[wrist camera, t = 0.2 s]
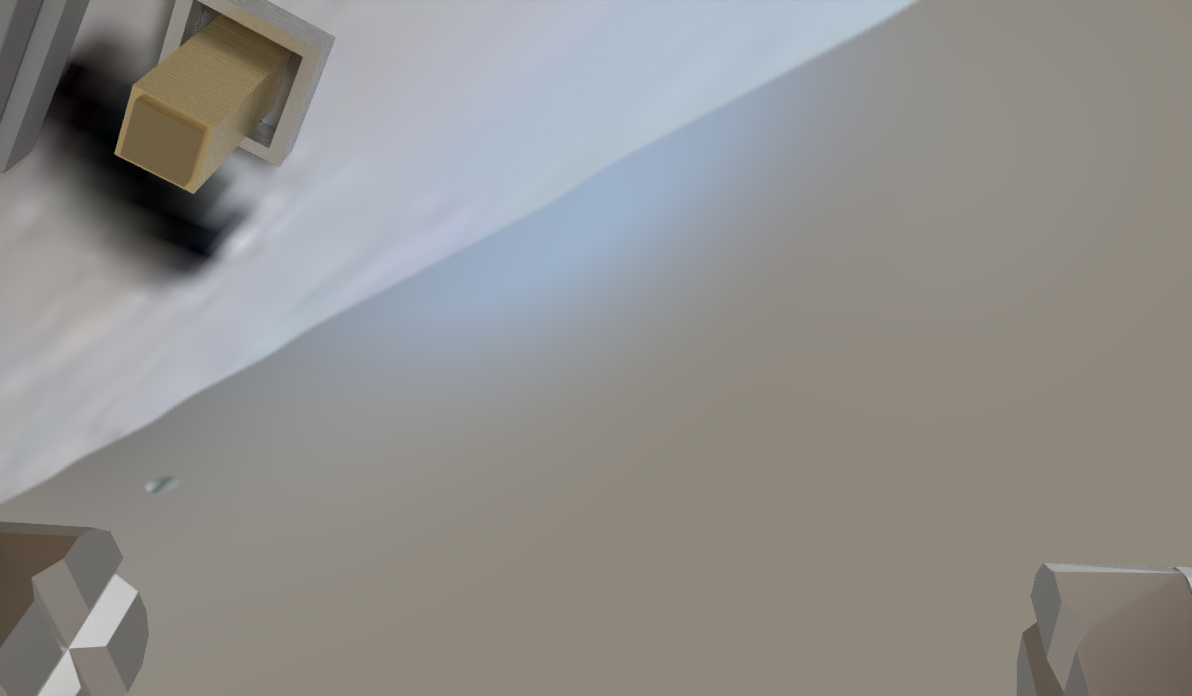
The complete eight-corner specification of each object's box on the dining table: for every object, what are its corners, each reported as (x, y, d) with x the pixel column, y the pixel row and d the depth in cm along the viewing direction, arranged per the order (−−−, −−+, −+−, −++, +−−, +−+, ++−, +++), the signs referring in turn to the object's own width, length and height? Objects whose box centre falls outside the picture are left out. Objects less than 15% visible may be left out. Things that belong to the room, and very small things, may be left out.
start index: (199, -36, 57) (182, -24, 55) (335, 37, 58) (322, 51, 57) (164, 85, 61) (147, 99, 60) (291, 151, 63) (278, 166, 61)
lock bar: (223, 11, 58) (128, 88, 50) (293, 49, 59) (211, 131, 51) (203, 74, 61) (110, 157, 52) (271, 109, 61) (190, 197, 53)
